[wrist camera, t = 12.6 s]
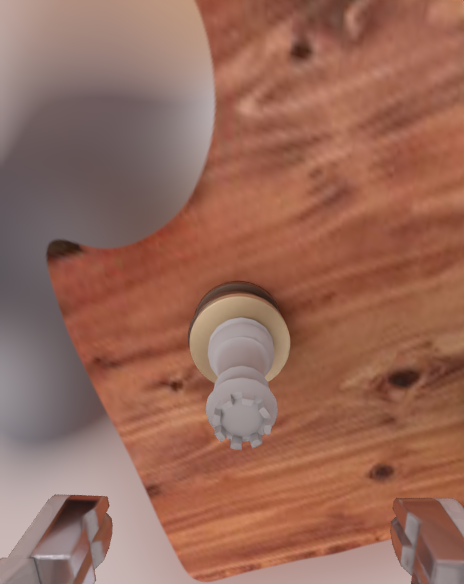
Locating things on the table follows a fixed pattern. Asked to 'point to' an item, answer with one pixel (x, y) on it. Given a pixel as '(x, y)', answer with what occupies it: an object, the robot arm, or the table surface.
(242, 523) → the table surface
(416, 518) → the robot arm
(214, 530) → the table surface
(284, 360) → the chip pile
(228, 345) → the rook chess piece
